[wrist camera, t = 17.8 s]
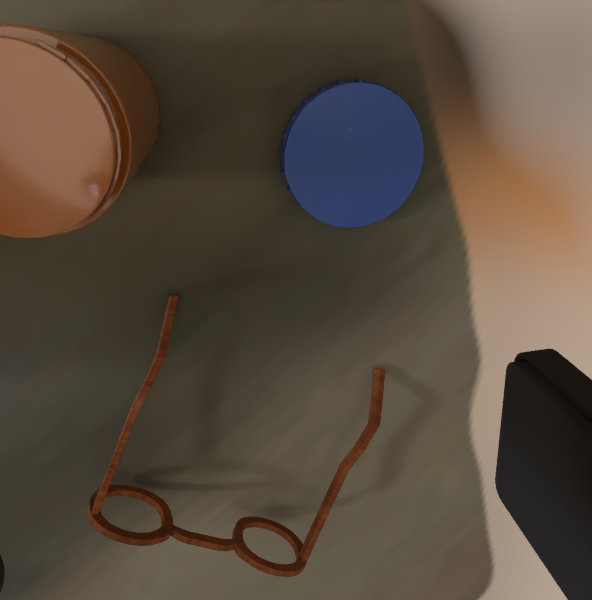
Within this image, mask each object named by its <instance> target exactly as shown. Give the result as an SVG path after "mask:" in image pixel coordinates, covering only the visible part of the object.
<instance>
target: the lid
mask: <svg viewBox="0 0 592 600" xmlns="http://www.w3.org/2000/svg"><path fill="white" fill-rule="evenodd" d="M361 81H362V80H359V79H355V80H354V81H344V82H342V81H336V83H334V84H331V85H328V86H325V87H323V88H321V87H319V88H318V91H316V92H314V93H313V94H311V95H310V96H309V97H308V98H307V99H303V102H302V103H301V105H300V106H299V107H298V108H297V109H296V111H295V112H294V114H291V115H290V116H291V119H290V120H289V122H288V124H287V127H286V130H285V132H284V131H283V133H282V134H283V135H284V136H283V140H282V147H281V150H279V153H280V154H281V162H282V169H281V172H282V173H283V175H284V176H285V179H286V182H287V184H288V186H287V188H288V190H289V192H292V194H293V195H294V197H295V199H296V200H297V203H298V204H299V206H300V207H301V206H302V208H303V209H305V210H306V211H307V212H308V213H309V214H310V215H312V217H314V218H316V219H318V220H320V221H322V222H324V223H326V224H329V225H332V226H337V227H344V228H355V227H362V226H367V225H370V224H373V223H376V222H378V221H380V220H382V219H384V218H386V217H387V216H389V215H390V214H392V213H393V212H394V211H396V210H397V209H398V208H399V207H400V206H401V205H402V204H403V203H404V202H405V201H406V199H407V198H408V197H409V196H410V194H411V192H412V191H413V189H414V187H415V185H416V183H417V181H418V179H419V176H420V173H421V170H422V165H423V158H424V141H423V135H422V131H421V128H420V125H419V122H418V120H417V118H416V116H415V114H414V113H413V111H412V110H411V108H410V107H409V106H408V105H407V103H406V102H405V101H404V100H403V99H402V98H400V97H399V96H398V95H397V94H396V93H395V92H392V91H391V90H389V89H386V88H384V87H382V86H380V84H378V83H366V82H361Z"/></svg>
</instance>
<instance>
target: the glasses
mask: <svg viewBox="0 0 592 600" xmlns="http://www.w3.org/2000/svg"><path fill="white" fill-rule="evenodd" d="M178 297H179V296H175V295H171V296H169V299H168V303H167V308H166V312H165V316H164V321H163V325H162V330H161V334H160V338H159V343H158V347H157V352H156V356H155V358H154V360H153V363H152V365H151V367H150V369H149V372H148V374H147V376H146V378H145V381H144V383H143V385H142V387H141V389H140V391H139V393H138V395H137V397H136V398H135V400H134V402H133V404H132V407H131V409H130V412H129V415H128V417H127V420H126V422H125V425H124V428H123V430H122V433H121V435H120V438H119V440H118V443H117V446H116V448H115V451H114V453H113V456H112V459H111V461H110V464H109V466H108V469H107V471H106V474H105V477H104V479H103V482H102V484H101V487H100V489H98V490H97V491H96V492H95V493H94V494H93V495H92V497H91V500H90V502H89V505H88V509H87V514H88V518H89V521H90V523H91V524H92V526H93V527H94V528H95V529H96V530H97V531H98V532H100V533H101V534H102V535H104V536H106V537H108V538H110V539H112V540H115V541H117V542H121V543H125V544H130V545H138V546H147V545H154V544H157V543H160V542H163V541H165V540H167V539H168V538H169V536H172V537H174V538H175V539H177V540H179V541H181V542H183V543H187V544H191V545H195V546H199V547H204V548H209V549H213V550H218V551H229V550H235V552H236V554H237V555H238V556H239V557H240V558H241V559H243V560H244V561H245V562H247V563H248V564H249V565H251V566H252V567H254V568H256V569H258V570H260V571H262V572H265V573H267V574H271V575H275V576H281V577H291V576H296V575H298V574H300V573H301V572H302V571H303V569H304V567H305V564H306V562H307V560H308V558H309V555H310V553H311V551H312V549H313V547H314V544H315V542H316V540H317V538H318V536H319V534H320V531H321V529H322V527H323V525H324V523H325V521H326V518H327V516H328V514H329V512H330V510H331V507H332V505H333V503H334V501H335V499H336V497H337V494H338V492H339V490H340V488H341V486H342V484H343V481H344V479H345V477H346V475H347V473H348V471H349V469H350V468H351V467H352V466H353V464H354V463H355V462H356V461H357V459H358V458H359V457H360V456H361V454H362V453H363V452H364V450H365V449H366V447H367V445H368V444H369V442H370V440H371V439H372V437H373V435H374V434H375V432H376V430H377V428H378V427H379V425H380V419H381V409H382V399H383V389H384V379H385V370H384V369H376V370H374V375H373V384H372V394H371V403H370V411H369V420H368V424H367V426H366V428H365V429H364V431H363V433H362V434H361V436H360V437H359V439H358V441H357V442H356V444H355V446H354V447H353V448H352V450H351V451H350V452H349V453H348V455H347V456H346V457H345V458H344V460H343V461H342V462H341V463H340V465H339V467H338V469H337V472H336V474H335V476H334V478H333V480H332V483H331V485H330V487H329V489H328V491H327V494H326V496H325V498H324V500H323V502H322V504H321V507H320V509H319V511H318V513H317V515H316V518H315V520H314V522H313V524H312V526H311V529H310V531H309V533H308V535H307V537H306V540H305V542H304V544H302V542H301V541H300V540H299V538H298V537H297V536H296V535H295V534H294V533H293V532H292V531H291V530H289V529H288V528H286V527H285V526H283V525H281V524H279V523H277V522H274V521H272V520H268V519H265V518H260V517H244V518H241V519H240V520H239V521H237V523H236V526H235V528H234V531H233V536H232V539H220V538H216V537H211V536H207V535H203V534H198V533H194V532H189V531H186V530H183V529H181V528H178V527H176V526H174V525H173V518H172V515H171V511H170V509H169V507H168V505H167V504H166V503H165V502H164V500H163V499H161V498H160V497H158V496H157V495H155V494H153V493H151V492H149V491H147V490H144V489H141V488H138V487H134V486H128V485H110V483H111V480H112V478H113V475H114V473H115V470H116V468H117V465H118V462H119V460H120V457H121V455H122V452H123V450H124V447H125V444H126V442H127V439H128V437H129V434H130V432H131V429H132V427H133V424H134V421H135V419H136V416H137V414H138V411H139V409H140V407H141V406H142V404H143V402H144V400H145V398H146V396H147V394H148V392H149V390H150V388H151V387H152V384H153V382H154V380H155V378H156V376H157V373H158V371H159V369H160V367H161V365H162V363H163V360H164V358H165V356H166V351H167V347H168V342H169V338H170V333H171V329H172V324H173V320H174V315H175V311H176V306H177V302H178ZM111 496H129V497H134V498H137V499H140V500H143V501H145V502H147V503H149V504H150V505H152V506H153V507H154V508H155V509H156V510H157V511H158V513H159V515H160V517H161V521H162V527H160V528H159V529H158V530H155V531H153V532H148V533H136V532H130V531H126V530H123V529H120V528H118V527H116V526H114V525H112V524H110V523H109V522H108V521H107V520H105V518H104V517H103V516H102V514H101V512H100V509H101V506H102V503H103V501H104V499H106V498H108V497H111ZM250 527H258V528H264V529H267V530H270V531H273V532H275V533H277V534H279V535H280V536H282V537H283V538H285V539H286V540H287V541H288V542H289V543H290V545H291V546H292V548H293V549H294V551H295V554H296V562H294V563H292V564H287V565H283V564H276V563H272V562H269V561H266V560H264V559H262V558H260V557H258V556H257V555H256V554H254V553H253V552H252V551H251V550H249V548H248V547H247V546H246V544H245V543H244V540H243V530H245V529H246V528H250Z"/></svg>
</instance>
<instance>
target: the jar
mask: <svg viewBox="0 0 592 600" xmlns="http://www.w3.org/2000/svg"><path fill="white" fill-rule="evenodd" d="M159 125H160V108H159V101H158V97H157V94H156V91H155V88H154V86H153V83H152V82H151V80H150V78H149V76H148V74H147V73H146V72H145V70H144V69H143V67H142V66H141V65H140V64H139V63H138V62H137V61H136V59H135V58H133V57H132V56H131V55H130V54H129V53H128V52H126V51H125V50H123V49H122V48H120V47H119V46H117V45H115V44H113V43H111V42H109V41H107V40H104V39H101V38H98V37H93V36H88V35H81V34H75V33H68V32H62V31H55V30H49V29H42V28H36V27H29V26H23V25H12V24H0V234H2V235H6V236H12V237H19V238H37V237H46V236H52V235H56V234H62V233H67V232H71V231H74V230H76V229H79V228H82V227H84V226H86V225H88V224H90V223H92V222H93V221H95V220H96V219H97V218H99V217H100V216H102V215H103V214H104V213H105V212H106V211H107V210H108V209H109V208H110V207H111V206H112V205H113V203H114V202H115V201H116V200H117V198H118V197H119V195H120V194H121V193H122V191H123V190H124V188H125V187H126V185H127V184H128V183H129V181H130V180H131V178H132V177H133V175H134V174H135V173H136V171H137V170H138V168H139V167H140V165H141V164H142V163H143V161H144V160H145V158H146V157H147V155H148V154H149V153H150V151H151V149H152V147H153V146H154V143H155V141H156V138H157V135H158V131H159Z"/></svg>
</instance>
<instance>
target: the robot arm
mask: <svg viewBox="0 0 592 600" xmlns="http://www.w3.org/2000/svg"><path fill="white" fill-rule="evenodd" d="M495 483H496V489H497V492H498V495H499V497H500V499H501V501H502V503H503V504H504V505H505V507H506V509H507V510H508V511H509V513H510V514H511V516H512V517H513V519H514V520H515V522H516V523H517V525H518V526H519V528H520V529H521V531H522V532H523V534H524V535H525V537H526V538H527V540H528V541H529V543H530V544H531V546H532V547H533V549H534V550H535V552H536V553H537V554H538V556H539V558H540V559H541V561H542V562H543V563H544V565H545V566H546V568H547V569H548V571H549V572H550V574H551V575H552V577H553V578H554V580H555V581H556V583H557V584H558V586H559V587H560V588H561V590H562V592H563V593H564V595H565V596H566V597H567V599H568V600H592V380H591V379H590V378H589V377H587V376H586V375H585V374H584V373H582V372H581V371H580V370H579V369H577V368H576V367H575V366H574V365H573V364H572V363H570V362H569V361H568V360H567V359H565V358H564V357H563V356H562V355H561V354H559V353H558V352H557V351H555V350H553V349H544V350H537V351H530V352H523V353H519V354H518V355H517V356H516V358H515V361H514V362H511V363H509V364H508V366H507V370H506V378H505V388H504V398H503V409H502V419H501V428H500V438H499V449H498V458H497V467H496V477H495ZM4 572H5V571H4V564H3V560H2V558H1V555H0V592H1V589H2V586H3V582H4Z"/></svg>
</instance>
